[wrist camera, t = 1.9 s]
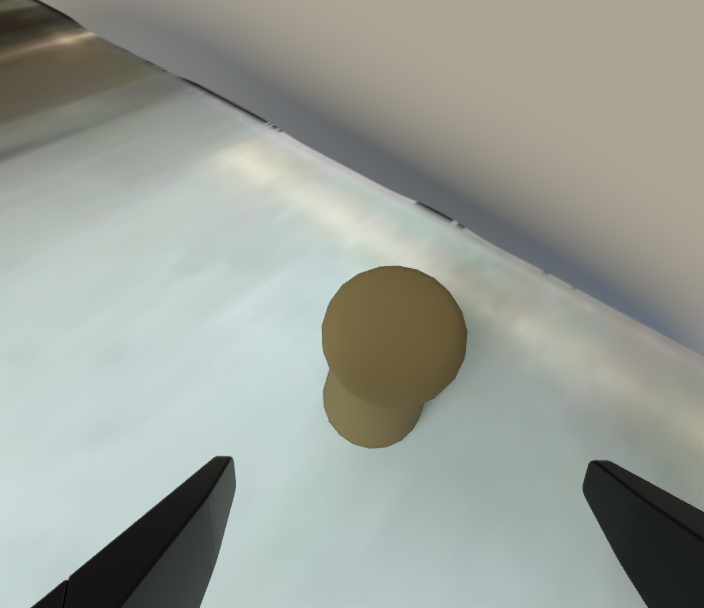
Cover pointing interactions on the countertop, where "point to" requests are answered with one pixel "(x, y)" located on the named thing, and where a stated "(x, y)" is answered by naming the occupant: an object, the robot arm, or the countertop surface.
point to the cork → (388, 352)
